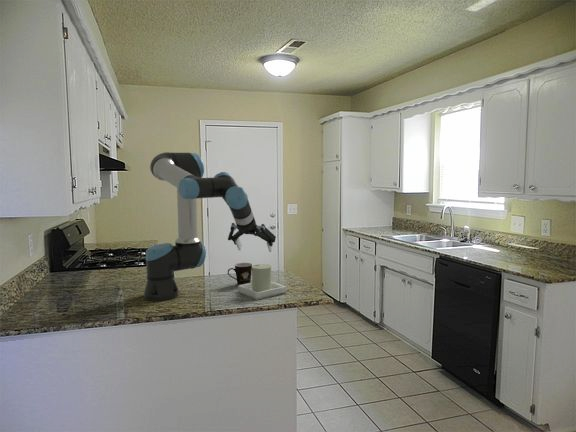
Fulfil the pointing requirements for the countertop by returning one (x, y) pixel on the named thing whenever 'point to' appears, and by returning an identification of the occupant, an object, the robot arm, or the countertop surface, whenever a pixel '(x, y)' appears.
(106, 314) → the countertop surface
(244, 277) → the coffee mug
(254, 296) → the bin
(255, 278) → the can
